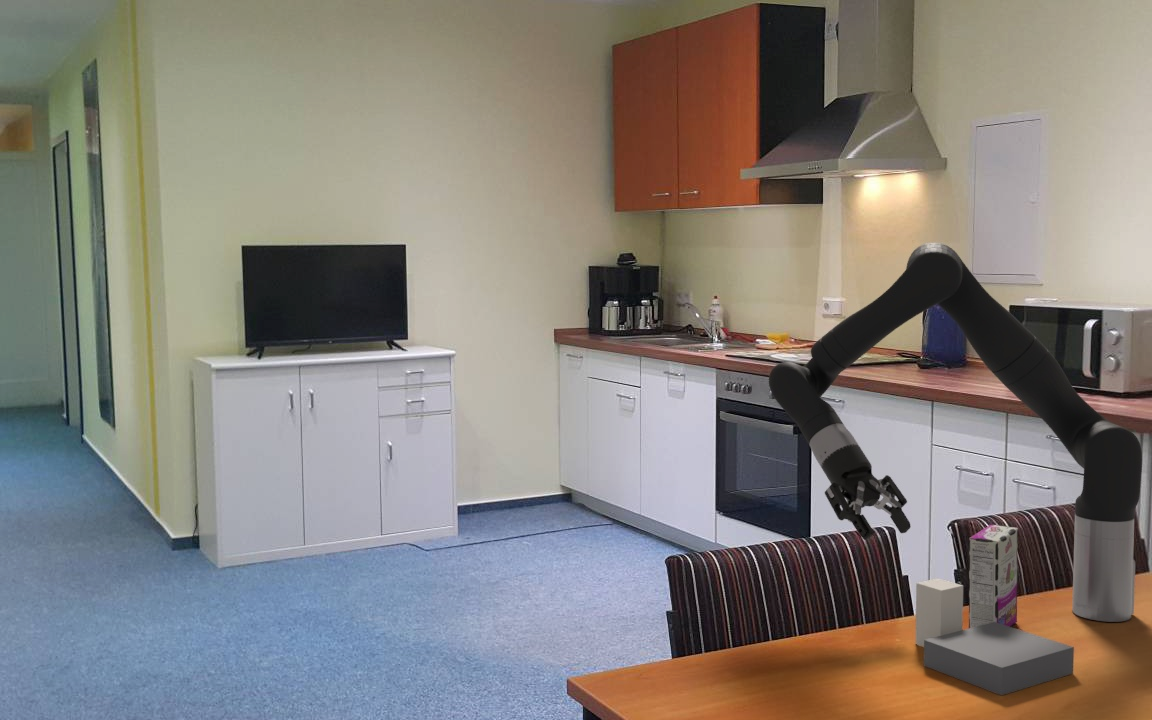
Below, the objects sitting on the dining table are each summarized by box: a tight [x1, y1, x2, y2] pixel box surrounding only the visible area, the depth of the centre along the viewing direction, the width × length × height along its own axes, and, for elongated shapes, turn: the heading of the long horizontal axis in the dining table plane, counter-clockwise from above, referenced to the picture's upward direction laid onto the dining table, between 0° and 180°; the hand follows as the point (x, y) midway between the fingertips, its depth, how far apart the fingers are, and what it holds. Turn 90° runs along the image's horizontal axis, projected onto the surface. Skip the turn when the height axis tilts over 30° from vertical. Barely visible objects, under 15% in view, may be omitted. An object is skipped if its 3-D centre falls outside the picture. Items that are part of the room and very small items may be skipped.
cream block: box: [915, 577, 964, 648], centre depth 178 cm, size 5×5×10 cm
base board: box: [923, 622, 1075, 696], centre depth 168 cm, size 16×14×4 cm
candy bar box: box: [968, 524, 1019, 629], centre depth 186 cm, size 11×5×16 cm, turn 143°
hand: (888, 533), depth 187 cm, fingers open, 8 cm apart
